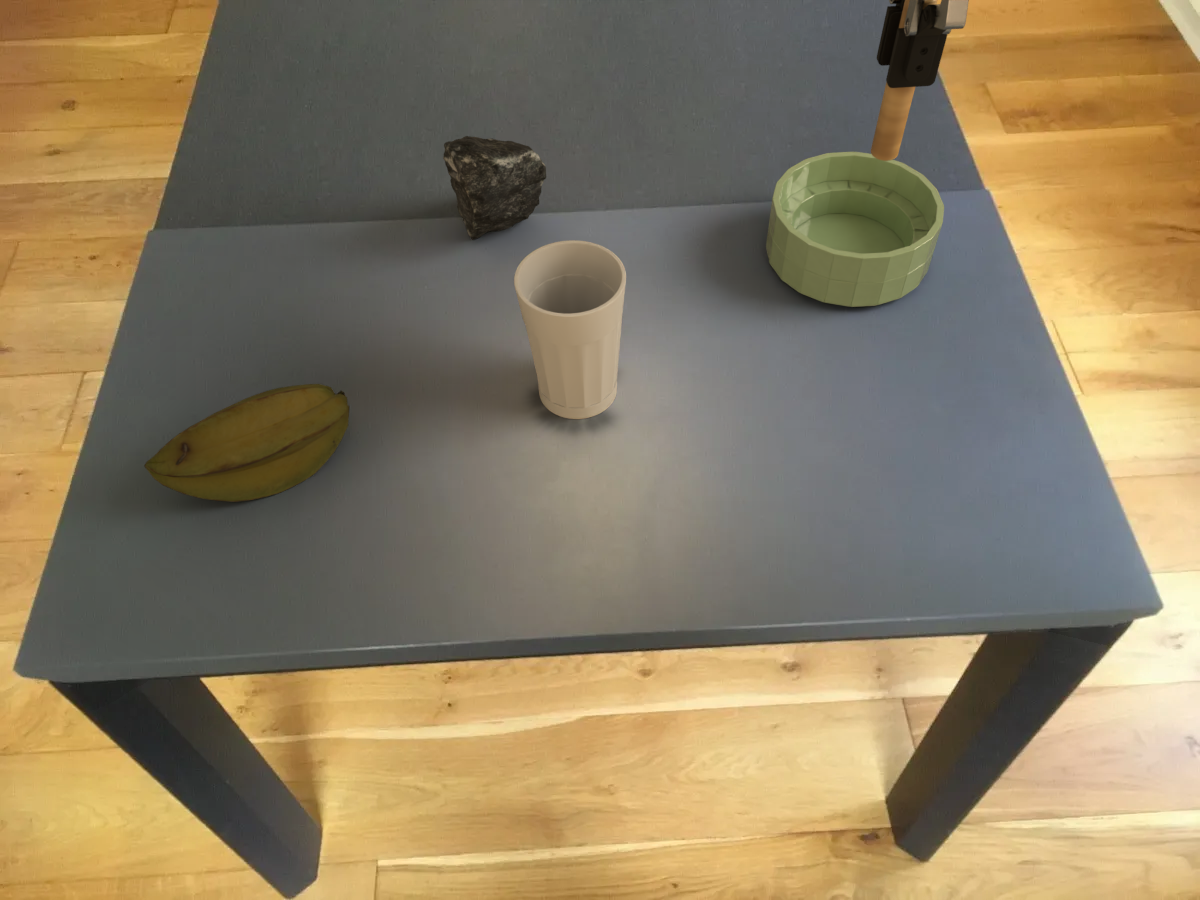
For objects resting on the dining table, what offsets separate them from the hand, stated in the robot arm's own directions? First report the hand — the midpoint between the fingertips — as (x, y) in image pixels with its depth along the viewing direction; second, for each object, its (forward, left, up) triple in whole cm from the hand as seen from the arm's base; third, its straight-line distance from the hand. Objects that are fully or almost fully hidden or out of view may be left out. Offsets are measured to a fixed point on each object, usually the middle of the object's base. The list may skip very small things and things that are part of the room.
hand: (904, 71), depth 67 cm
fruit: (+41, +28, -22) cm, 54 cm away
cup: (+20, +15, -22) cm, 33 cm away
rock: (+33, -3, -22) cm, 40 cm away
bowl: (+1, -6, -22) cm, 22 cm away
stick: (0, 0, -7) cm, 7 cm away
